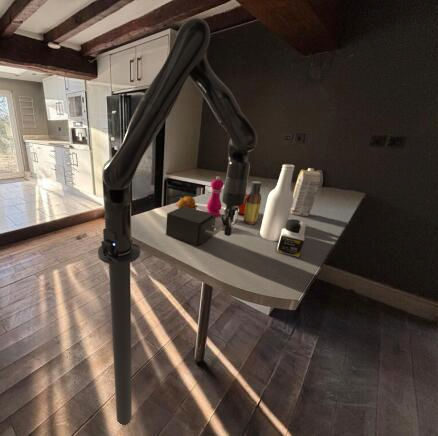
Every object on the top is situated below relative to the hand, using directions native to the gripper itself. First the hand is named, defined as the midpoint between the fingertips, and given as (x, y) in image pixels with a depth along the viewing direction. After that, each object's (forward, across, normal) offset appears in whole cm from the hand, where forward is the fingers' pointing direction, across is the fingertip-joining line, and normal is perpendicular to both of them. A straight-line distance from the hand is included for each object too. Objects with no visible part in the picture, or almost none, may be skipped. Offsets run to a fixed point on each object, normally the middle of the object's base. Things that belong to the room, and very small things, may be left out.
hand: (227, 234), depth 87 cm
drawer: (+4, 0, -12) cm, 13 cm away
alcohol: (+6, -21, +11) cm, 25 cm away
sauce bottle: (+6, -32, -1) cm, 32 cm away
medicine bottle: (+6, -13, +19) cm, 24 cm away
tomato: (+6, -43, -10) cm, 44 cm away
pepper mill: (+6, -30, -19) cm, 36 cm away
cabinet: (+5, 0, -16) cm, 17 cm away
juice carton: (+6, -62, +16) cm, 64 cm away
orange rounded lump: (+6, -22, -30) cm, 37 cm away
